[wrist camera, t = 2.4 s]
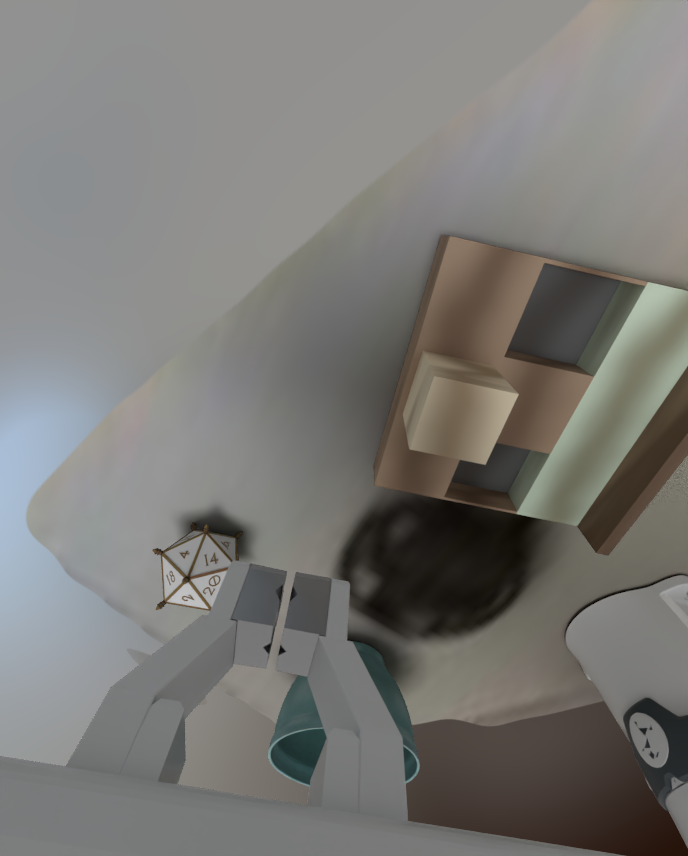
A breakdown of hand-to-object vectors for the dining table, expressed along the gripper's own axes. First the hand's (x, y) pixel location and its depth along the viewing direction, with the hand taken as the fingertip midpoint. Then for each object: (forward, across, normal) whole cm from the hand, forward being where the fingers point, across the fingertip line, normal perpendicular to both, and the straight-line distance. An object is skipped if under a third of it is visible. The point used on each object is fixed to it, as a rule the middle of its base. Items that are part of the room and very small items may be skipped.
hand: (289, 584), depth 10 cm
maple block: (+18, +8, 0) cm, 20 cm away
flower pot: (+21, +9, -40) cm, 47 cm away
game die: (+21, -9, -22) cm, 32 cm away
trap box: (+21, +14, 0) cm, 26 cm away
